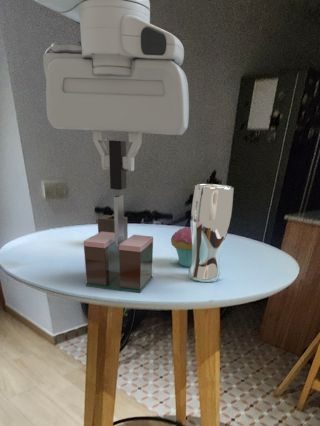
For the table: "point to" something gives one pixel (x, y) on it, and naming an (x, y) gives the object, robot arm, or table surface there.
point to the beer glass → (209, 229)
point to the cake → (118, 262)
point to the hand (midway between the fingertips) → (118, 170)
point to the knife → (118, 186)
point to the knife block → (110, 225)
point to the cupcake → (183, 245)
